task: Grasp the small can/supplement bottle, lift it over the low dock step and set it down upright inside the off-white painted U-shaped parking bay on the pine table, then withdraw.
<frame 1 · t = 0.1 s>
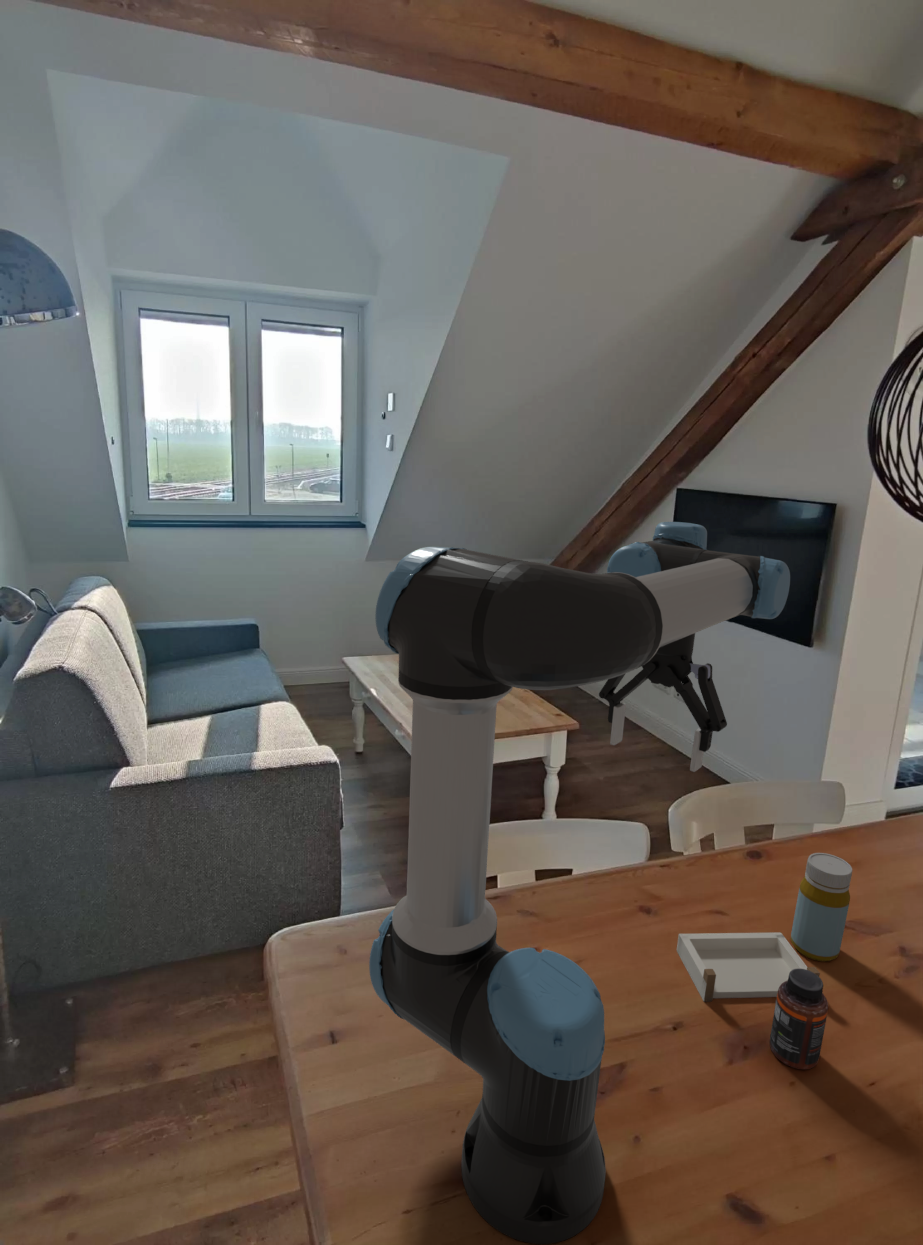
hand: (654, 755, 116), 28 cm above the table, fingers open, 13 cm apart
bottle: (813, 949, 116), on the table
supplement bottle: (792, 1054, 95), on the table
bay: (743, 975, 109), on the table
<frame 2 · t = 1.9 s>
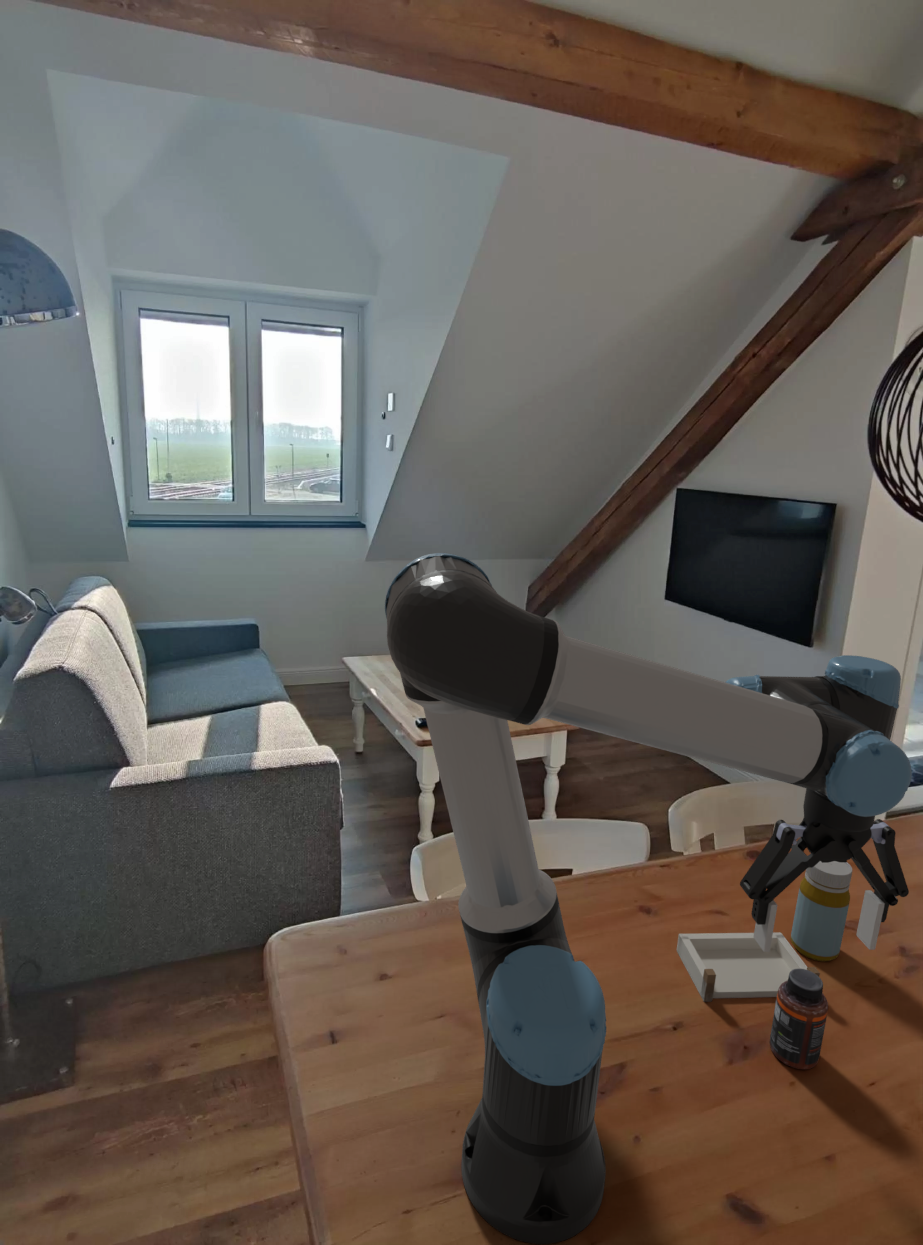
hand: (813, 943, 91), 16 cm above the table, fingers open, 13 cm apart
nothing on the table moved.
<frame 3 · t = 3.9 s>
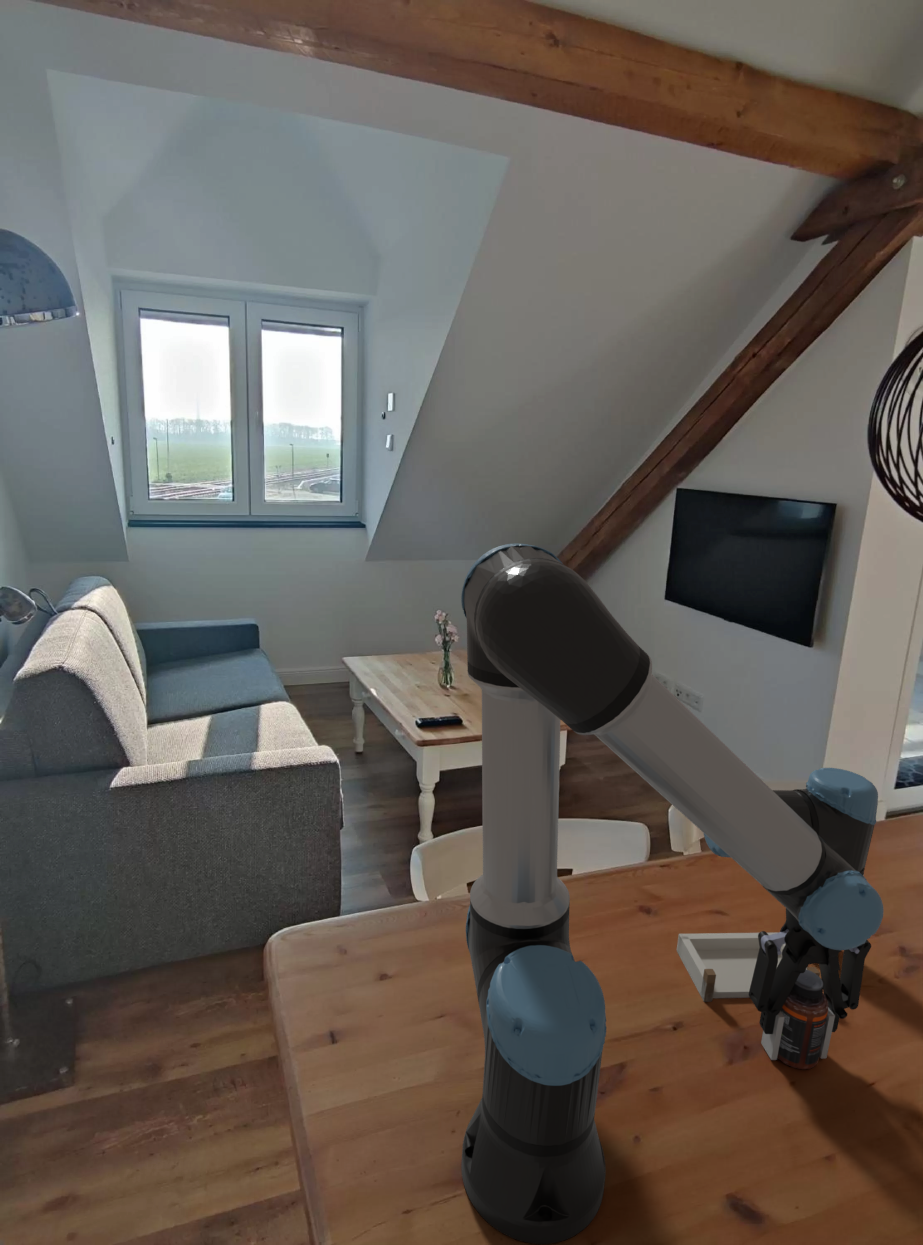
hand: (793, 1050, 95), 0 cm above the table, fingers closed on supplement bottle, 6 cm apart
supplement bottle: (792, 1054, 95), on the table, touching gripper
everything else where it was.
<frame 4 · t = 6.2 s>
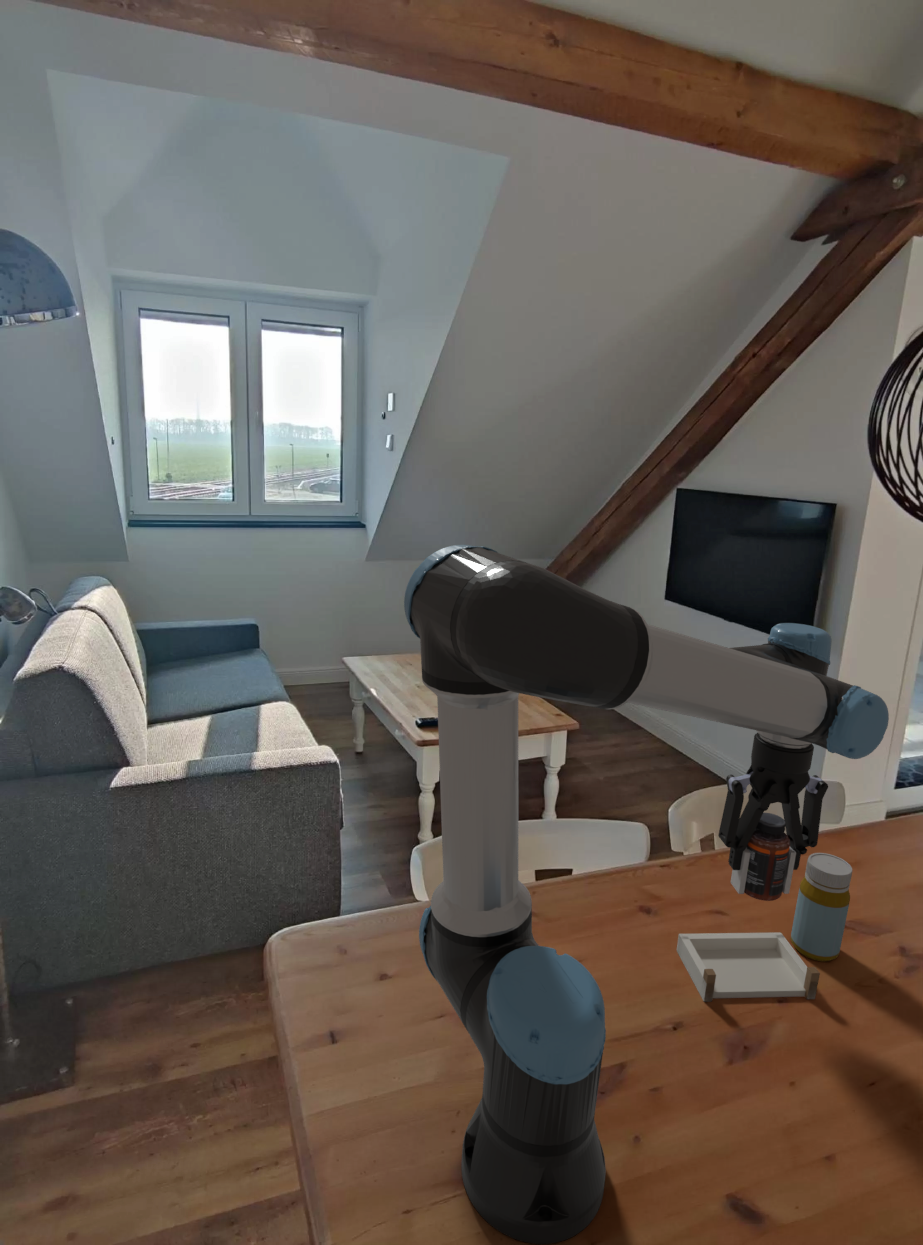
hand: (759, 887, 105), 15 cm above the table, fingers closed on supplement bottle, 6 cm apart
supplement bottle: (758, 891, 105), point 14 cm above the table, touching gripper
everything else where it was.
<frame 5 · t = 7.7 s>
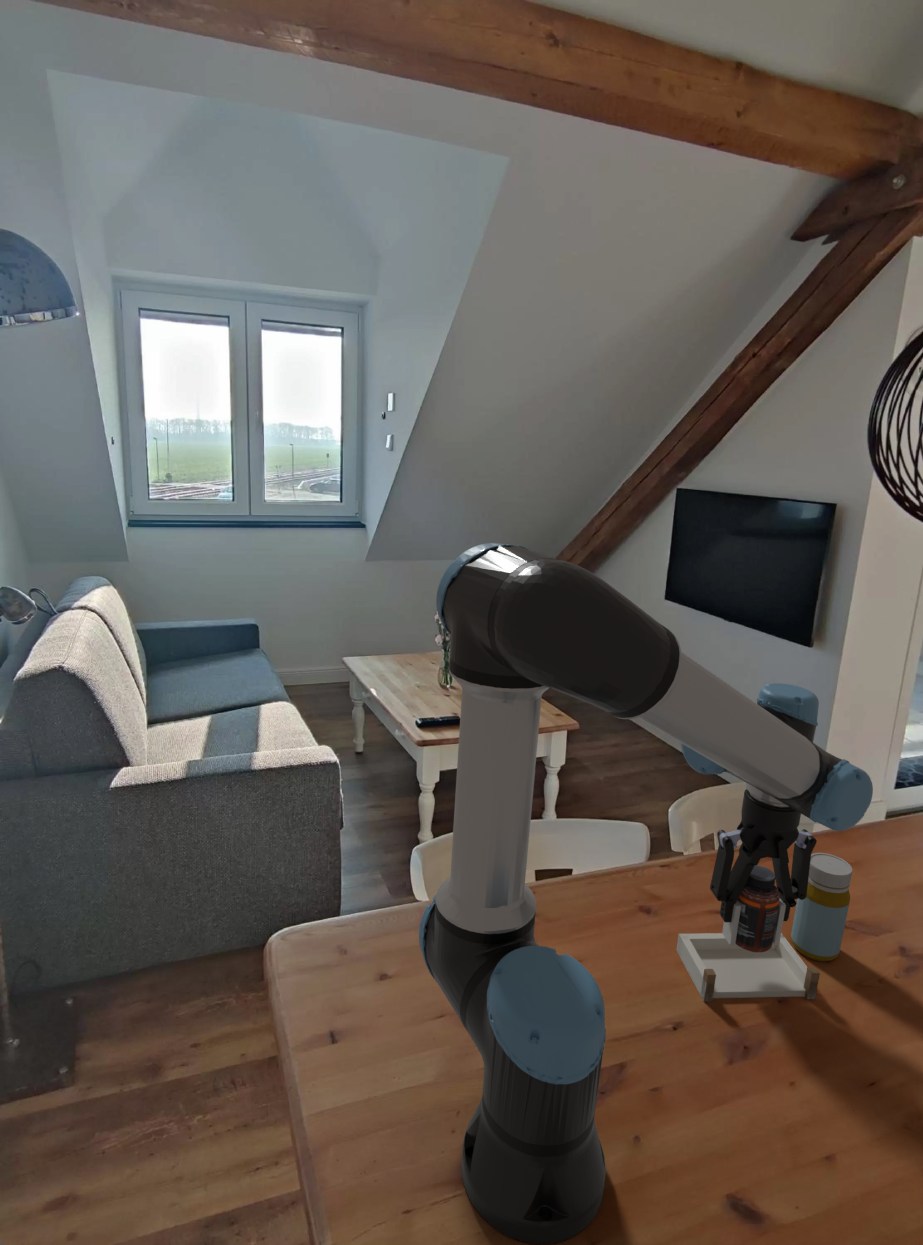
hand: (750, 938, 108), 6 cm above the table, fingers closed on supplement bottle, 6 cm apart
supplement bottle: (749, 942, 108), point 6 cm above the table, touching gripper
everything else where it was.
when the fingers open (3 cm above the table, at t = 8.7 s): supplement bottle drops 1 cm, resting on bay.
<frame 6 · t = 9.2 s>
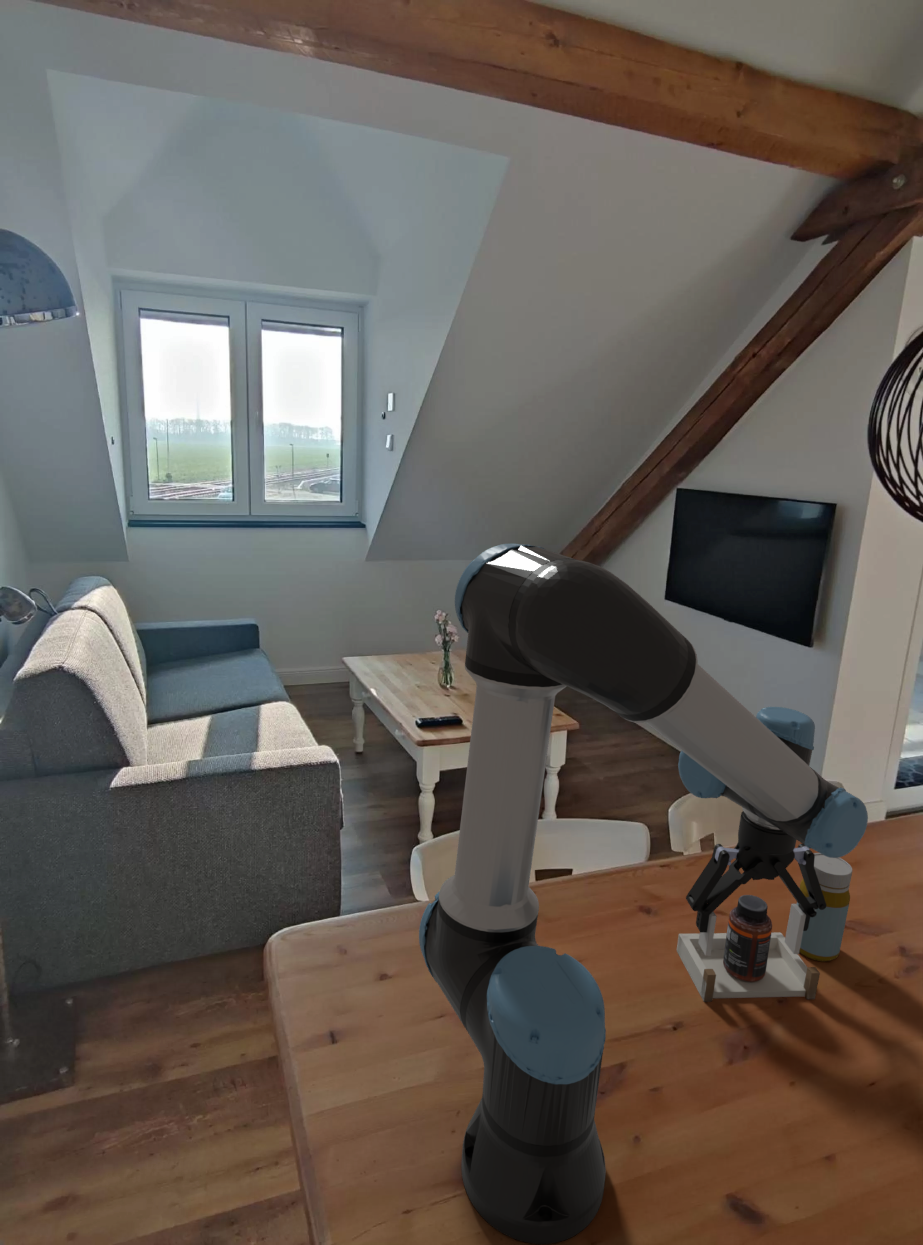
hand: (748, 948, 108), 5 cm above the table, fingers open, 13 cm apart
supplement bottle: (743, 971, 109), point 1 cm above the table, touching bay
everything else where it was.
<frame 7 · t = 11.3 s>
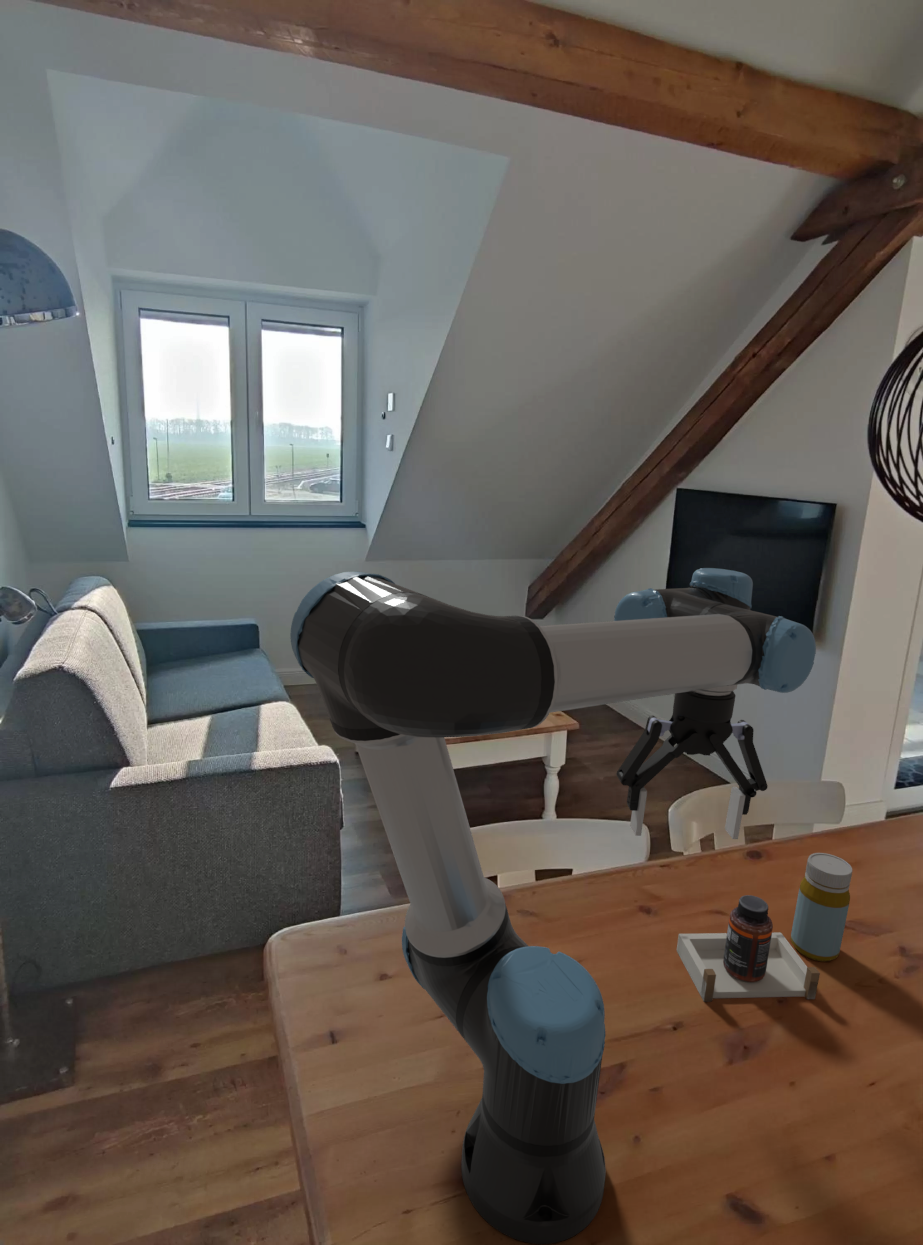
hand: (683, 832, 102), 24 cm above the table, fingers open, 13 cm apart
nothing on the table moved.
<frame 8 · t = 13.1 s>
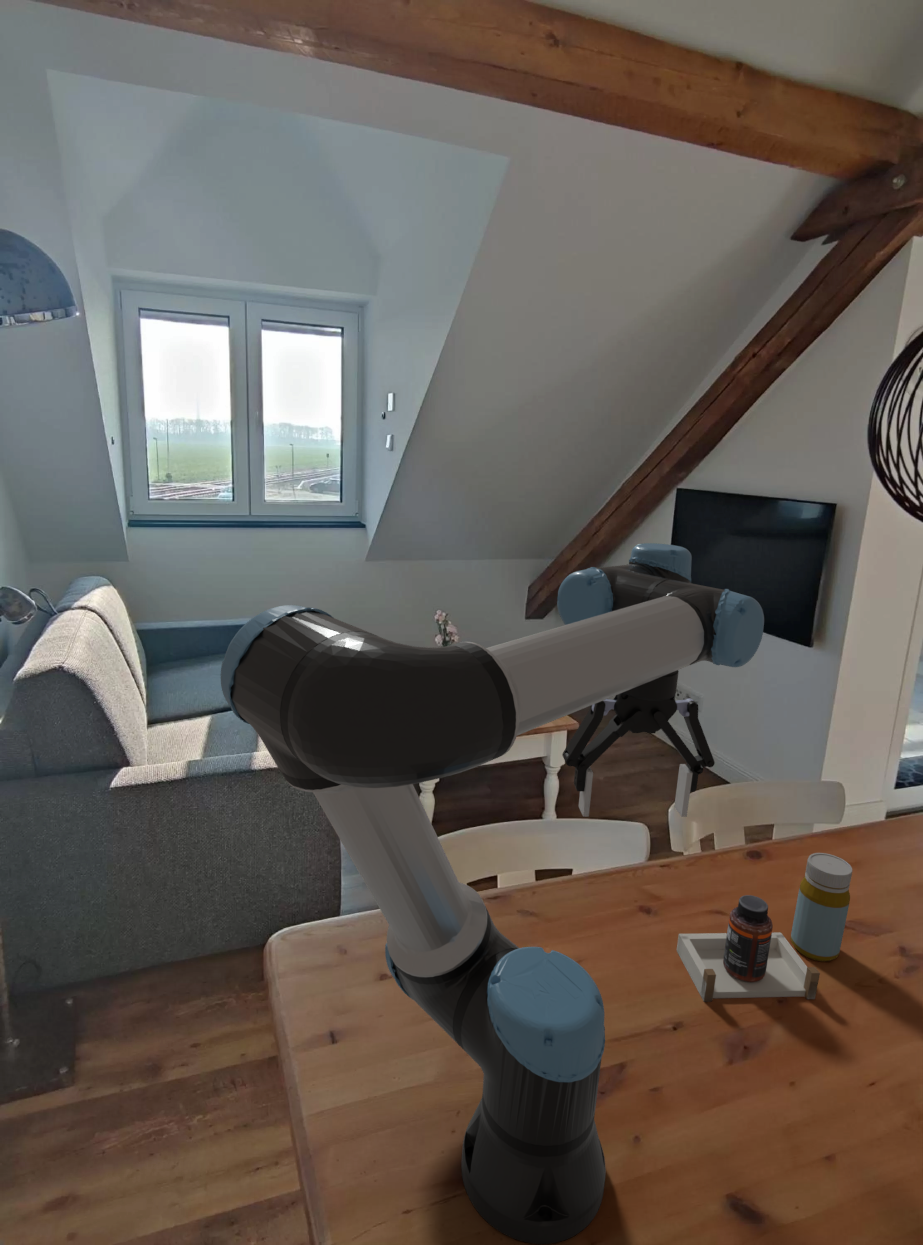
hand: (632, 812, 101), 27 cm above the table, fingers open, 13 cm apart
nothing on the table moved.
at the end: supplement bottle 0.2 cm from the bay (horizontally); supplement bottle tilted 0°; the gripper is holding nothing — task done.
